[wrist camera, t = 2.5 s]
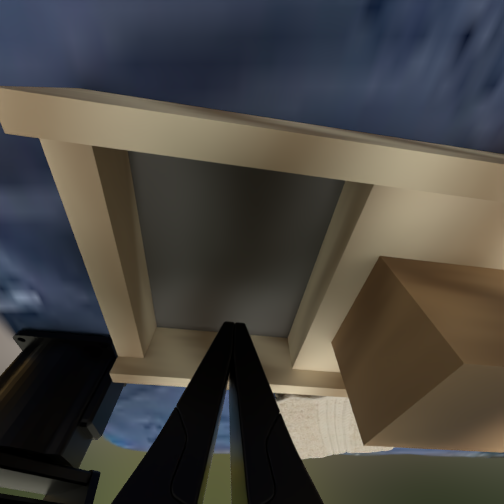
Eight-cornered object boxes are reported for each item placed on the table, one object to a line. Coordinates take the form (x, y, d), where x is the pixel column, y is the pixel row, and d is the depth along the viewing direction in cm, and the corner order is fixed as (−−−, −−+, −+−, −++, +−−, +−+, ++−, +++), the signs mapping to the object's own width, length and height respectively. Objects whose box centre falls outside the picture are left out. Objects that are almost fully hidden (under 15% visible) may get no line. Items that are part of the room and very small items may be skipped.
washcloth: (410, 342, 18) (436, 383, 15) (388, 427, 28) (402, 461, 25) (260, 361, 19) (261, 402, 17) (290, 435, 29) (294, 468, 27)
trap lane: (137, 330, 16) (113, 382, 13) (79, 88, 8) (-16, 85, 5) (630, 370, 19) (698, 420, 16) (938, 221, 11) (1178, 266, 8)
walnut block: (331, 342, 13) (363, 445, 9) (379, 255, 9) (464, 363, 6) (432, 350, 13) (502, 452, 9) (513, 271, 10) (674, 380, 6)
